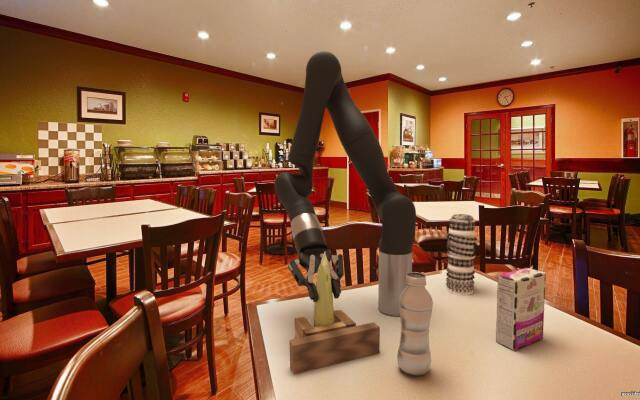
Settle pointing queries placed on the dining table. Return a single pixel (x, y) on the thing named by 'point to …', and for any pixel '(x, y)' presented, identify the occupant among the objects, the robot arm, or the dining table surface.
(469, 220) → the decorative candle
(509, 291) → the candy bar box
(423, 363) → the plastic bottle
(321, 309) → the tube
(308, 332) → the block
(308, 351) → the wooden plank
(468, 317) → the dining table surface
